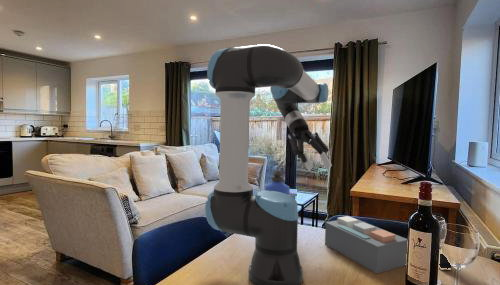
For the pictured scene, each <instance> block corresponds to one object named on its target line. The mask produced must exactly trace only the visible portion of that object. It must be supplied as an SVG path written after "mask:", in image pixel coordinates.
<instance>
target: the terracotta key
mask: <svg viewBox="0 0 500 285" xmlns="http://www.w3.org/2000/svg"><path fill="white" fill-rule="evenodd" d="M380 229H381V230H376V231H371V232H370V237H371V238H373V239H376V240H378V241H380V242H382V243H386V242H391V241H395V233H393V232H391V231H390V232H391V233H390V232H389V231H388V230H386V231H385V229H383V230H382V228H380ZM387 231H388V232H387ZM392 233H393V234H392Z"/></svg>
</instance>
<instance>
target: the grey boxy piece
mask: <svg viewBox="0 0 500 285" xmlns="http://www.w3.org/2000/svg"><path fill="white" fill-rule="evenodd" d="M353 218H354V219H357V218H355V217H353ZM357 220H358V223H362V222H364V221H362V220H360V219H357ZM366 223H367V224H369V223H368V222H366ZM371 225H372V226H374V225H373V224H371ZM375 227H376V230H381V229H382V228H380V227H378V226H375ZM376 230H375V231H376ZM382 230H385V229H382ZM324 231H325V232H324V233H325V234H324V235H325V236H324V244H325V245H326V246H327V247H329V248H331V249H332V250H335V251H336V252H338V253H340V254H342V255H344V256H345V257H347V258H348V259H351V260H352V261H353V262H356V263H357V264H358V265H360V266H363V267H365V269H368V270H370V271H371V272H373V273H375V274H380V273H385V272H388V271H390V270H395V269H398V268H401V267H406V266H405V264H406V254H407V237H403V236H400V235H398V234H395V233H393V232H391V231H390V233H392V234H395V241H391V242H386V243H382V242H380V241H378V240H376V239H373V238H371V237H369V236H367V235H364V234H362V233H360V232H358V231H355V230H353V229H351V228H349V227H346V226H344V225H342V224H340V223H337V219H336V220H331V221H325V230H324ZM385 231H387V232H389V231H388V230H385Z"/></svg>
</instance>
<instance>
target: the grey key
mask: <svg viewBox="0 0 500 285" xmlns="http://www.w3.org/2000/svg"><path fill="white" fill-rule="evenodd" d="M367 223H368V222H366V221H363V222H362V223H357V224H353V230H355V231H358V232H360V233H362V234H364V235H367V236H369V237H370V232H371V231H375V230H376V227H377V226H375V225H373V224H370V223H368V224H367ZM372 225H373V226H372Z"/></svg>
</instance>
